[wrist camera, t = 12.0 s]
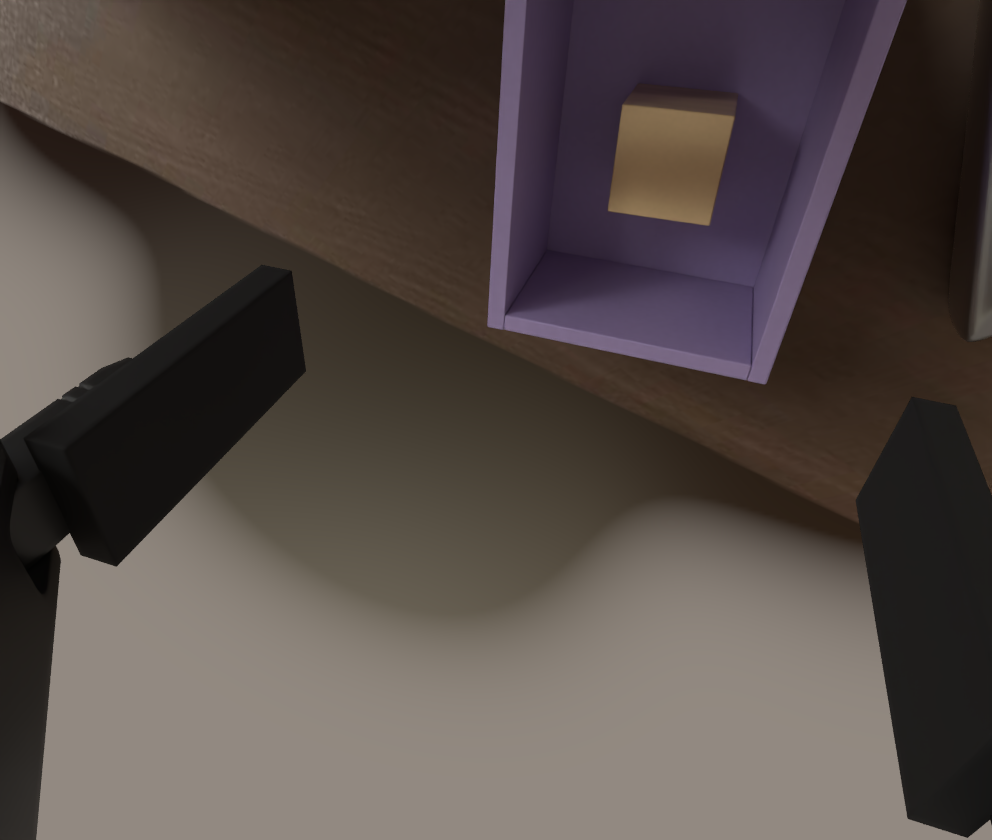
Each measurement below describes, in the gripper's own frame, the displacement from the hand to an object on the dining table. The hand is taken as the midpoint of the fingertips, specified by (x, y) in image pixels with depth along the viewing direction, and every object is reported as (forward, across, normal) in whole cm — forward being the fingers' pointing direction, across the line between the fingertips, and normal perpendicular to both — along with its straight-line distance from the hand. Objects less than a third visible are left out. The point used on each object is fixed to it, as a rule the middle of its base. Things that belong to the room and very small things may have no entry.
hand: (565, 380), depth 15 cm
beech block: (+22, 0, -1) cm, 22 cm away
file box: (+23, 0, 0) cm, 23 cm away
